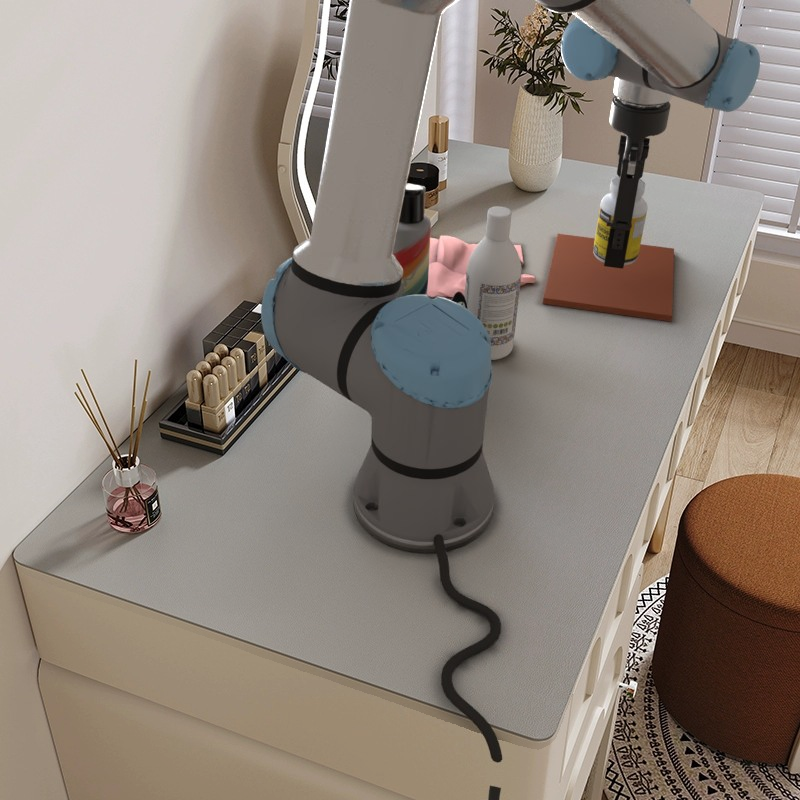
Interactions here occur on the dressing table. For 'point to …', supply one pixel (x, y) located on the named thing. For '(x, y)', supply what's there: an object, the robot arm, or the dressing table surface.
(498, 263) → the bath foam
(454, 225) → the dressing table surface
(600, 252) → the pill bottle
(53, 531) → the dressing table surface
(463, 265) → the cloth
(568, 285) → the mat
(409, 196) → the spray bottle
